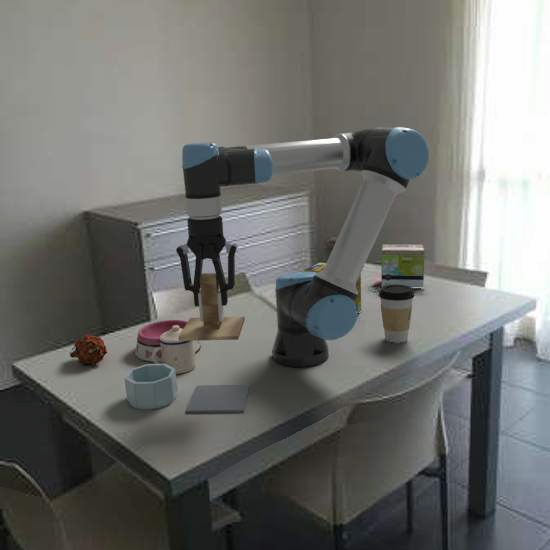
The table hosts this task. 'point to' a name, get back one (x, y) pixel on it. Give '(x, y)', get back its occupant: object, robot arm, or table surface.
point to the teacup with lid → (176, 351)
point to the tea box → (402, 265)
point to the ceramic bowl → (151, 386)
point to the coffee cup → (396, 311)
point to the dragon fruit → (89, 350)
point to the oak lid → (211, 316)
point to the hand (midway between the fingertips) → (212, 319)
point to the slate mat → (218, 399)
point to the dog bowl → (156, 339)
